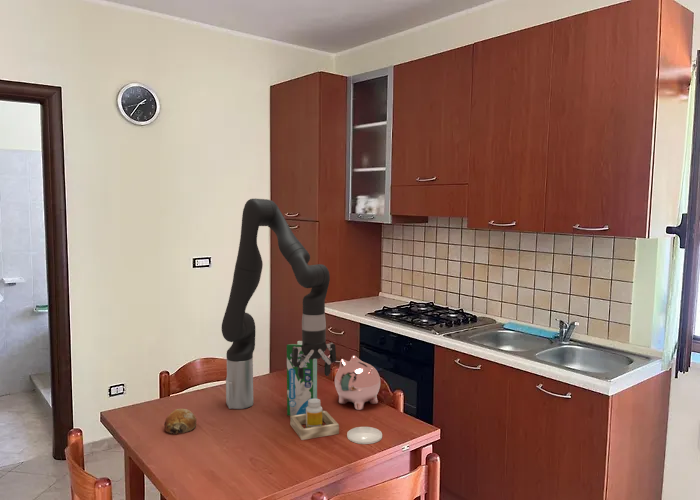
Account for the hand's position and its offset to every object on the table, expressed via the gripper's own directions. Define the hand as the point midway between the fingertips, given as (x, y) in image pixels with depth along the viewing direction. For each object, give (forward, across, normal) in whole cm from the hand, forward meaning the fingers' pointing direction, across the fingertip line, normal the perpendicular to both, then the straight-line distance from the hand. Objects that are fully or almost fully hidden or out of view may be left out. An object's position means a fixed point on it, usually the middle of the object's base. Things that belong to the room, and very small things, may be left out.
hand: (314, 376), depth 178 cm
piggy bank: (+18, -22, -17) cm, 33 cm away
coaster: (+17, -13, +11) cm, 24 cm away
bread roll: (+18, +40, -17) cm, 47 cm away
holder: (+17, 0, 0) cm, 17 cm away
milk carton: (+18, -1, -16) cm, 24 cm away
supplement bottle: (+18, 0, 0) cm, 18 cm away
